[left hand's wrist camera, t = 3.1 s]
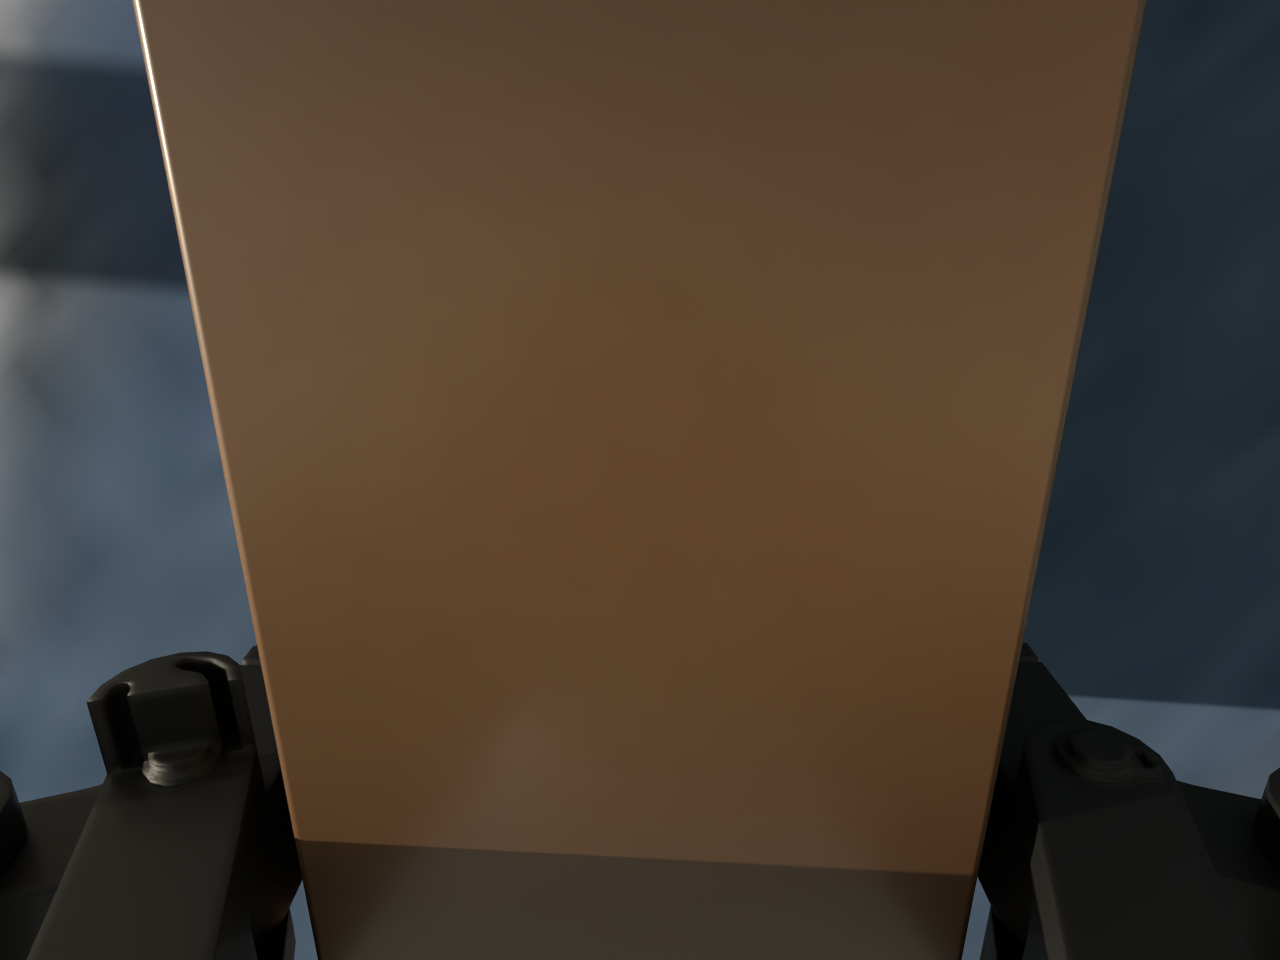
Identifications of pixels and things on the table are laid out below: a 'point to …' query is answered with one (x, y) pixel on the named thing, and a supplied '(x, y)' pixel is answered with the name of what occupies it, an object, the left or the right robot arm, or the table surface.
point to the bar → (639, 444)
